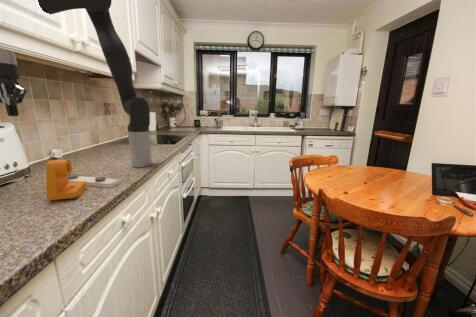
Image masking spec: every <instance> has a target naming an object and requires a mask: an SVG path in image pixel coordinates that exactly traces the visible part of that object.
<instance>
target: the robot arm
mask: <svg viewBox="0 0 476 317" xmlns="http://www.w3.org/2000/svg"><path fill="white" fill-rule="evenodd" d="M38 2H39V5H40V7H41V8H42V10H43V11H44V12H46V13H49V14H50V15H54V14H58V13H62V12H65V11H71V10H79V9H85V12H86V13H87V15H88V17H89V19H90V21H91V22H92V25H93V27H94V30H95V32H96V35H97V39H98V41H99V42H98V43H99V44H100V49H101V51H102V54H103V57H104V58H105V61H106V64H107V66H108V68H109V71H110V74H111V76H112V78H113V81H114V83H115V85H116V89H117V91H118V95H119V99H120V101H121V106H122V108H123V111H124V112H125V113H126V115H128V116H129V124H128V125H127V135H128V145H129V146H128V147H129V155H130V156H129V157H130V166H131V167H132V168H146V167H150V166H151V165H152V163H153V162H152V159H153V158H152V147H151V144H150V143H151V142H150V141H151V140H150V132H149V130H150V129H149V128H150V124H151V117H150V116H151V115H150V114H151V112H150V105H149V103H148V100H147V99H145V98H144V97H142V96H138V95H137V93H136V89H135V88H134V83H133V68H132V66H133V65H132V62H131V59H130V56H129V54H128V52H127V48H126V46H125V45H124V42H123V40H122V39H121V37H120V36H119V34H118V33H117V31H116V30H115V27H114V23H113V21H112V18H111V14H110V8H111V6H112V0H38ZM20 79H21V74H20V70H19V66H18V60H17V57H16V54H15V52H12V51H7V50H3V49H0V104H3V105H4V106H5V110H6V114H7V116H9V117H18V116H19V110H18V109H19V108H18V104H22V103H23V101H24V98H25V96H26V93H27V91H28V90H27V89H26V88H22V87H21V86H20V83H19V81H18V80H20Z"/></svg>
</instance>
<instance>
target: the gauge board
mask: <svg viewBox="0 0 476 317" xmlns="http://www.w3.org/2000/svg"><path fill="white" fill-rule="evenodd" d="M67 178H68V181H69V182H79V181H85V183H86V187H98V188H108V189H111V188H114V187H115V186H118V185H119V184H120V183H121V182H120V179H115V178H106V177H105V176H97V177H96V176H95V177H93V176H81V175H80V176H79V175H78V174H71V175H70V176H67Z"/></svg>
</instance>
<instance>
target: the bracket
mask: <svg viewBox="0 0 476 317" xmlns="http://www.w3.org/2000/svg"><path fill="white" fill-rule="evenodd" d="M45 170H46V199H47V201H56V200H66V199H74V198H75V199H76V198H78V197H81V196H82V194H83V193H84V192H85V191H86V190H85V189H86V187H87V186H86V183H85V181H79V182H69V181H68V178H67V176H70V175H72V172H73V166H72V162H71V160H69V159H57V160H56V159H54V160H49V161H47V162H46V169H45Z"/></svg>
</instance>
